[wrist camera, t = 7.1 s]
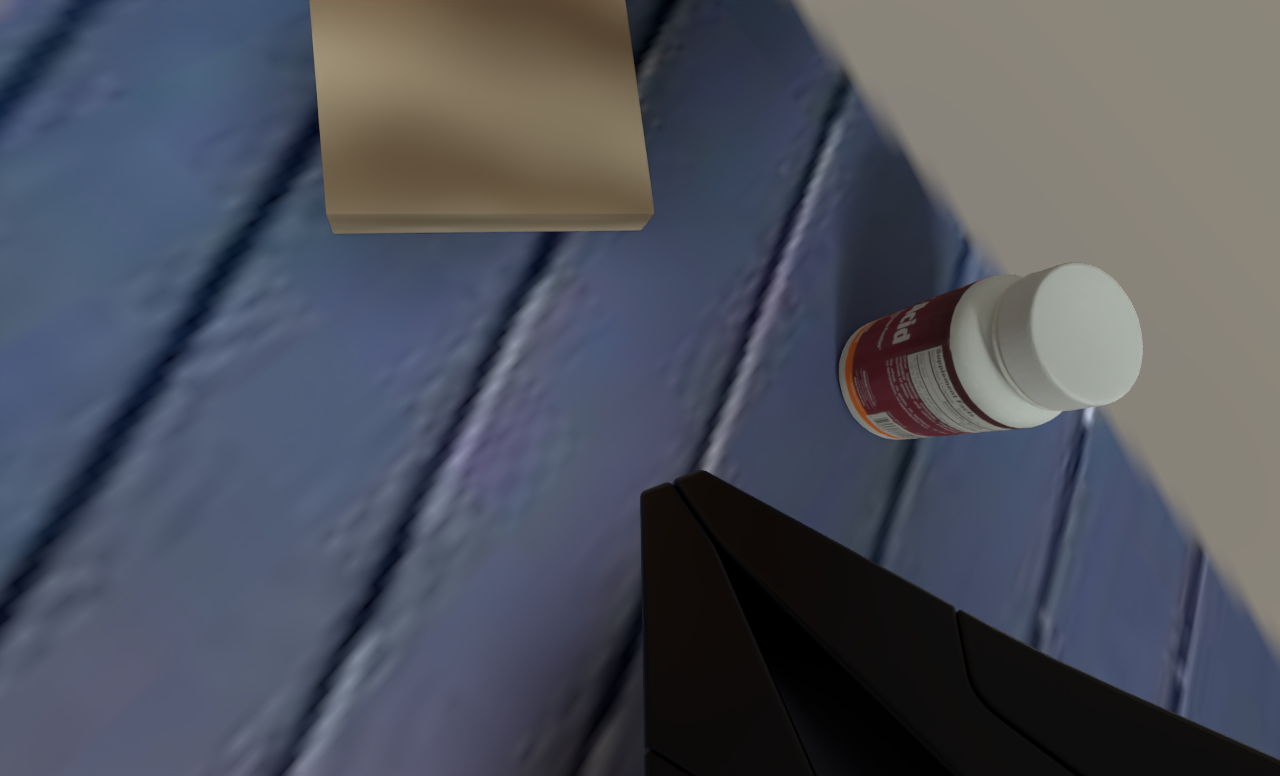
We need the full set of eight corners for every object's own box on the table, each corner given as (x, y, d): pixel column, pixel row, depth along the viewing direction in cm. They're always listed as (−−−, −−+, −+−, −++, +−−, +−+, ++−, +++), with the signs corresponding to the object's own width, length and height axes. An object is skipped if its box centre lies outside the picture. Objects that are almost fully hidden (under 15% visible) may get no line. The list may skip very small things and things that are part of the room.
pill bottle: (899, 301, 26) (1101, 221, 18) (954, 405, 26) (1180, 370, 18) (812, 353, 25) (993, 289, 17) (871, 463, 25) (1079, 451, 17)
